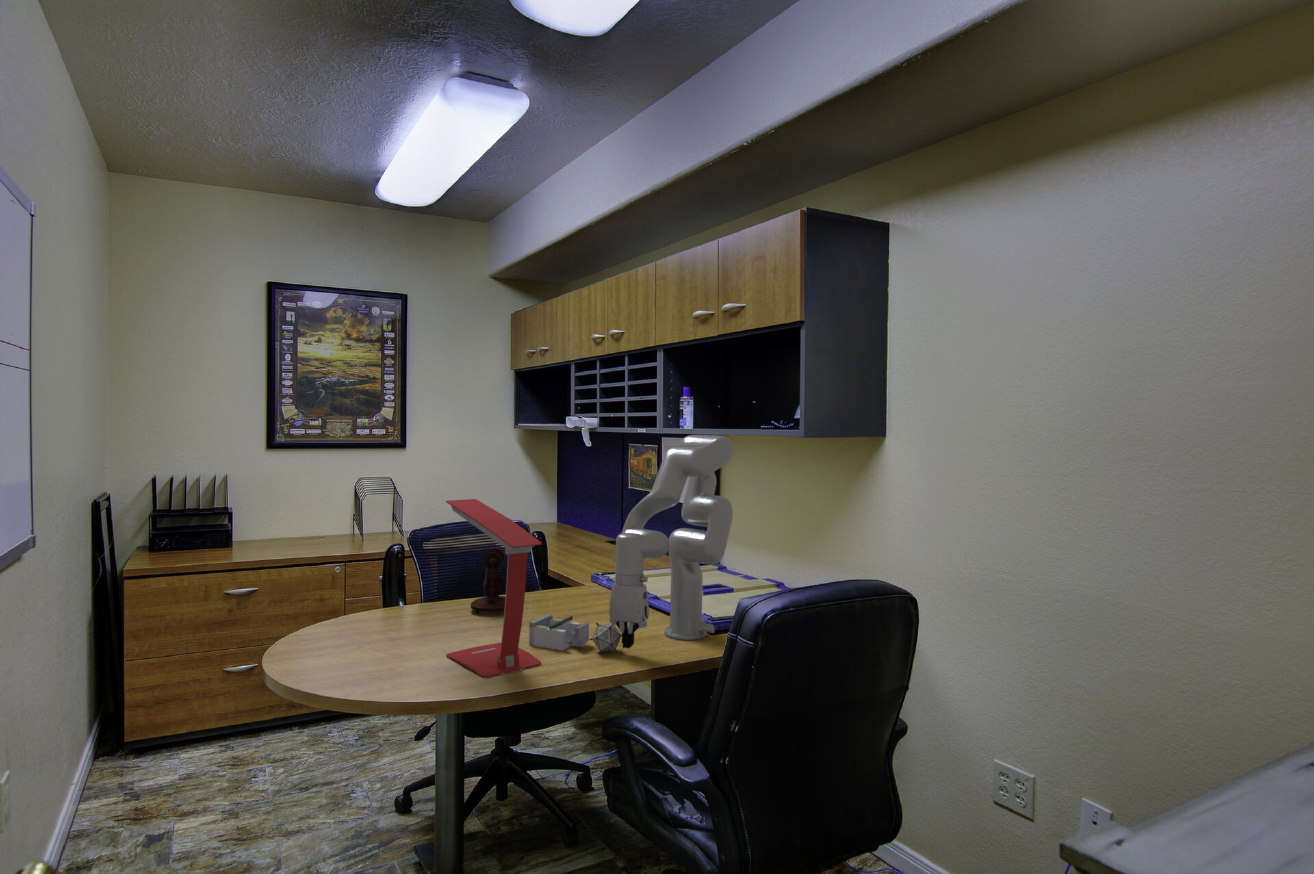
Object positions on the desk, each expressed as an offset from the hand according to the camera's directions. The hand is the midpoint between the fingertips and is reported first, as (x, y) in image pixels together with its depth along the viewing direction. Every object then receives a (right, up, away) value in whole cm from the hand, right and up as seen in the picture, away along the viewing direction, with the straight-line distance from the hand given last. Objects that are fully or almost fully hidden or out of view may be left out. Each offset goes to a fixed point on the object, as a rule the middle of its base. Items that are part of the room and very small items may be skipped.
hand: (627, 646), depth 191 cm
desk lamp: (-37, -2, -4) cm, 37 cm away
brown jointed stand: (-46, -1, +42) cm, 62 cm away
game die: (-6, -2, +3) cm, 7 cm away
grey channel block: (-16, -1, +7) cm, 18 cm away
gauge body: (-21, -2, +9) cm, 23 cm away
